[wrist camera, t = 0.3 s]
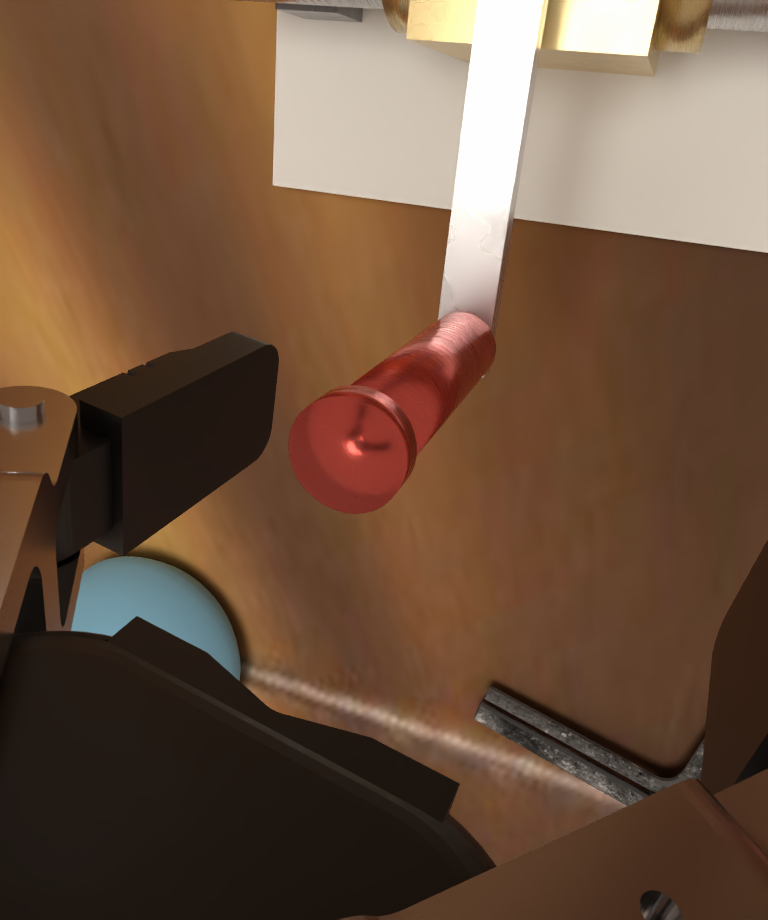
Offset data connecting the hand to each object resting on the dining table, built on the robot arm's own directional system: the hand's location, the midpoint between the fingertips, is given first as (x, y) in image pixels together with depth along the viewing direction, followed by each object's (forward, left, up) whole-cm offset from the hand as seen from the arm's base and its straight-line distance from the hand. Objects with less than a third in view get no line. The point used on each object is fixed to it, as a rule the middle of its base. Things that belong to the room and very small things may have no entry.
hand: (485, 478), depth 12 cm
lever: (-4, -4, -17) cm, 18 cm away
